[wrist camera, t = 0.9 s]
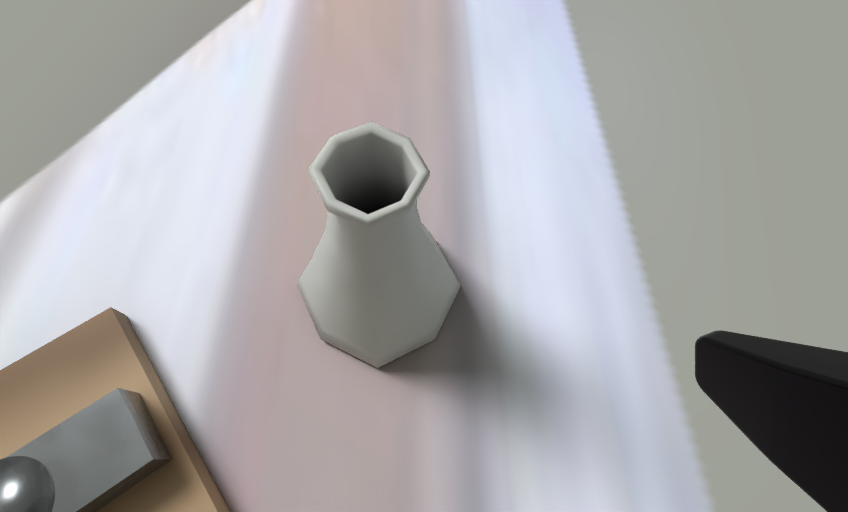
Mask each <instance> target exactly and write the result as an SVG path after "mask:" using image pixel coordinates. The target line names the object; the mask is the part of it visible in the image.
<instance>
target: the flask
mask: <svg viewBox="0 0 848 512" xmlns="http://www.w3.org/2000/svg"><path fill="white" fill-rule="evenodd" d="M308 170H309V174H310V176H311V178H312V180H313V182H314V184H315V186H316V188H317V190H318V192H319V194H320V196H321V198H322V200H323V203H324V205H325V207H326V209H327V210H328V213H327V222H326V230H325V232H324V234H323V236H322V238H321V241H320V243H319V245H318V247H317V249H316V251H315V253H314V255H313V257H312V259H311V261H310V262H309V264H308V266H307V267H306V269H305V271H304V273H303V274H302V276H301V278H300V280H299V282H298V284H297V286H298V288H299V290H300V292H301V295H302V297H303V299H304V302H305V304H306V306H307V309H308V311H309V313H310V315H311V318H312V320H313V322H314V325H315V327H316V329H317V332H318V334H319V336H320V339H322V340H324V341H326V342H328V343H329V344H331V345H333V346H335V347H337V348H339V349H341V350H343V351H345V352H347V353H349V354H351V355H353V356H355V357H357V358H359V359H361V360H363V361H365V362H367V363H369V364H371V365H373V366H374V367H376V368H379V367H381V366H383V365H385V364H387V363H389V362H391V361H393V360H395V359H397V358H399V357H401V356H403V355H405V354H407V353H409V352H411V351H413V350H415V349H417V348H419V347H421V346H423V345H425V344H427V343H429V342H431V341H433V340H435V338H436V336H437V334H438V332H439V330H440V328H441V326H442V324H443V322H444V320H445V318H446V316H447V314H448V312H449V310H450V307H451V305H452V303H453V301H454V299H455V297H456V295H457V293H458V291H459V289H460V287H461V285H460V284H459V282H458V280H457V278H456V277H455V275H454V273H453V271H452V269H451V268H450V266H449V264H448V262H447V261H446V259H445V257H444V255H443V254H442V252H441V250H440V248H439V247H438V245H437V243H436V241H435V239H434V238H433V236H432V235H431V233H430V232H429V231H428V230H427V228H426V227H425V226H424V225H423V224H422V223H421V220H420V217H419V213H418V210H417V197H418V196H419V194H420V192H421V190H422V189H423V187H424V185H425V183H426V182H427V180H428V178H429V176H430V171H429V169H428V168H427V166H426V164H425V163H424V161H423V159H422V158H421V156H420V154H419V153H418V151H417V149H416V148H415V146H414V144H413V143H412V141H411V139H410V138H408V137H406V136H404V135H401V134H399V133H397V132H395V131H392V130H390V129H388V128H385V127H383V126H381V125H379V124H376V123H374V122H372V121H371V122H369V123H366V124H363V125H360V126H358V127H355V128H352V129H350V130H347V131H344V132H341V133H339V134H336V135H333V136H331V138H330V139H329V140H328V142H327V143H326V145H325V146H324V148H323V149H322V150H321V152H320V153H319V155H318V156H317V157H316V159H315V160H314V162H313V163H312V164H311V166H310V167H309V169H308Z"/></svg>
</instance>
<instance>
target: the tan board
mask: <svg viewBox="0 0 848 512" xmlns="http://www.w3.org/2000/svg"><path fill="white" fill-rule="evenodd" d="M116 388H121V389H125V390H129V391H133V392H137V393H140V395H141V397H142V399H143V401H144V403H145V405H146V407H147V409H148V411H149V413H150V415H151V417H152V419H153V421H154V423H155V425H156V426H157V428H158V430H159V432H160V434H161V436H162V438H163V440H164V442H165V444H166V446H167V448H168V450H169V452H170V454H171V456H172V458H173V459H172V460H171V461H169V462H168V463H166V464H165V465H164V466H162V467H161V468H159V469H158V470H156V471H155V472H153V473H152V474H150V475H149V476H148V477H146V478H145V479H143V480H142V481H140V482H139V483H137V484H136V485H134V486H133V487H132V488H130V489H129V490H127V491H126V492H124V493H123V494H121V495H120V496H118V497H117V498H116V499H114V500H113V501H111V502H110V503H108V504H107V505H105V506H104V507H102V508H101V509H100V510H98V511H97V512H230V511H229V509H228V507H227V505H226V503H225V501H224V499H223V498H222V496H221V494H220V492H219V490H218V488H217V486H216V484H215V483H214V481H213V479H212V477H211V475H210V473H209V471H208V469H207V467H206V466H205V464H204V462H203V460H202V458H201V456H200V454H199V452H198V450H197V449H196V447H195V445H194V443H193V441H192V439H191V437H190V435H189V433H188V432H187V430H186V428H185V426H184V424H183V422H182V420H181V418H180V417H179V415H178V413H177V411H176V409H175V407H174V405H173V403H172V401H171V400H170V398H169V396H168V394H167V392H166V390H165V388H164V386H163V384H162V383H161V381H160V379H159V377H158V375H157V373H156V371H155V369H154V368H153V366H152V364H151V362H150V360H149V358H148V356H147V354H146V352H145V351H144V349H143V347H142V345H141V343H140V341H139V339H138V337H137V335H136V334H135V332H134V330H133V328H132V326H131V324H130V322H129V320H128V318H127V317H126V315H125V314H123V313H121V312H119V311H117V310H115V309H113V308H109V309H107V310H105V311H104V312H102V313H100V314H98V315H97V316H95V317H93V318H91V319H90V320H88V321H86V322H84V323H83V324H81V325H79V326H77V327H75V328H74V329H72V330H70V331H68V332H67V333H65V334H63V335H61V336H60V337H58V338H56V339H54V340H53V341H51V342H49V343H47V344H46V345H44V346H42V347H40V348H39V349H37V350H35V351H33V352H32V353H30V354H28V355H26V356H25V357H23V358H21V359H19V360H18V361H16V362H14V363H12V364H11V365H9V366H7V367H5V368H4V369H2V370H0V459H3V458H5V457H7V456H9V455H10V454H12V453H13V452H15V451H17V450H18V449H20V448H21V447H23V446H25V445H26V444H28V443H29V442H31V441H33V440H34V439H36V438H38V437H39V436H41V435H42V434H44V433H46V432H47V431H49V430H50V429H52V428H54V427H55V426H57V425H58V424H60V423H62V422H63V421H65V420H66V419H68V418H70V417H71V416H73V415H75V414H76V413H78V412H79V411H81V410H83V409H84V408H86V407H87V406H89V405H91V404H92V403H94V402H95V401H97V400H99V399H100V398H102V397H103V396H105V395H107V394H108V393H110V392H112V391H113V390H115V389H116Z"/></svg>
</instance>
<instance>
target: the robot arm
mask: <svg viewBox="0 0 848 512" xmlns="http://www.w3.org/2000/svg"><path fill="white" fill-rule="evenodd" d="M695 377H696V380H697V383H698V384H699V386H700V388H701V389H702V390H703V391H704V392H705V393H706V394H707V396H708V397H709V398H710V399H711V400H712V401H713V402H714V403H715V404H716V405H717V406H718V407H719V408H720V409H721V410H722V411H723V412H724V413H725V414H726V415H727V416H728V418H729V419H730V420H731V421H732V422H733V423H734V424H735V425H736V426H737V427H738V428H739V429H740V430H741V431H742V432H743V433H744V434H745V435H746V436H747V437H748V438H749V440H750V441H751V442H752V443H753V444H754V445H755V446H756V447H757V448H758V449H759V450H760V451H761V452H762V453H763V454H764V455H765V456H766V457H767V458H768V459H769V460H770V461H771V462H772V463H773V464H775V465H776V466H777V467H778V468H779V469H780V470H781V471H782V472H783V473H784V474H785V475H786V476H788V477H789V478H790V479H791V480H792V481H793V482H794V483H795V484H797V485H798V486H799V487H800V488H801V489H802V490H803V491H804V492H806V493H807V494H808V495H809V496H810V497H811V498H813V499H814V500H815V501H816V502H817V503H818V504H819V505H820V506H821V507H823V508H824V509H825V510H826V511H827V512H848V352H843V351H837V350H831V349H825V348H820V347H813V346H808V345H802V344H797V343H790V342H784V341H779V340H773V339H768V338H762V337H756V336H750V335H744V334H738V333H733V332H727V331H714V332H711V333H709V334H706V335H704V336H701V337H699V338H698V339H697V341H696V343H695Z"/></svg>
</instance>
